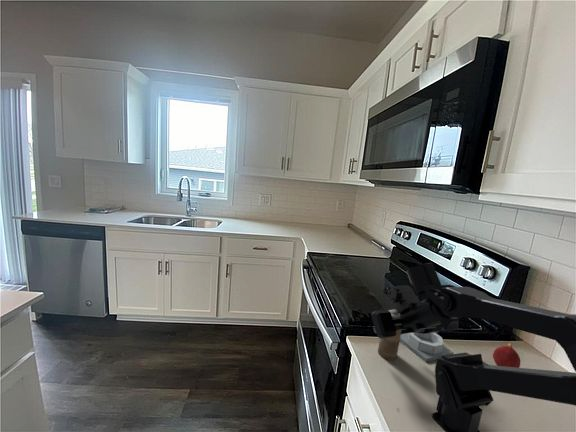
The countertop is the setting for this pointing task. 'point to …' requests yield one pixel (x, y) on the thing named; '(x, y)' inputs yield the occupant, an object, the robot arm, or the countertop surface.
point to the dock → (422, 354)
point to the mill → (390, 341)
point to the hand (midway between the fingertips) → (388, 329)
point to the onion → (506, 356)
